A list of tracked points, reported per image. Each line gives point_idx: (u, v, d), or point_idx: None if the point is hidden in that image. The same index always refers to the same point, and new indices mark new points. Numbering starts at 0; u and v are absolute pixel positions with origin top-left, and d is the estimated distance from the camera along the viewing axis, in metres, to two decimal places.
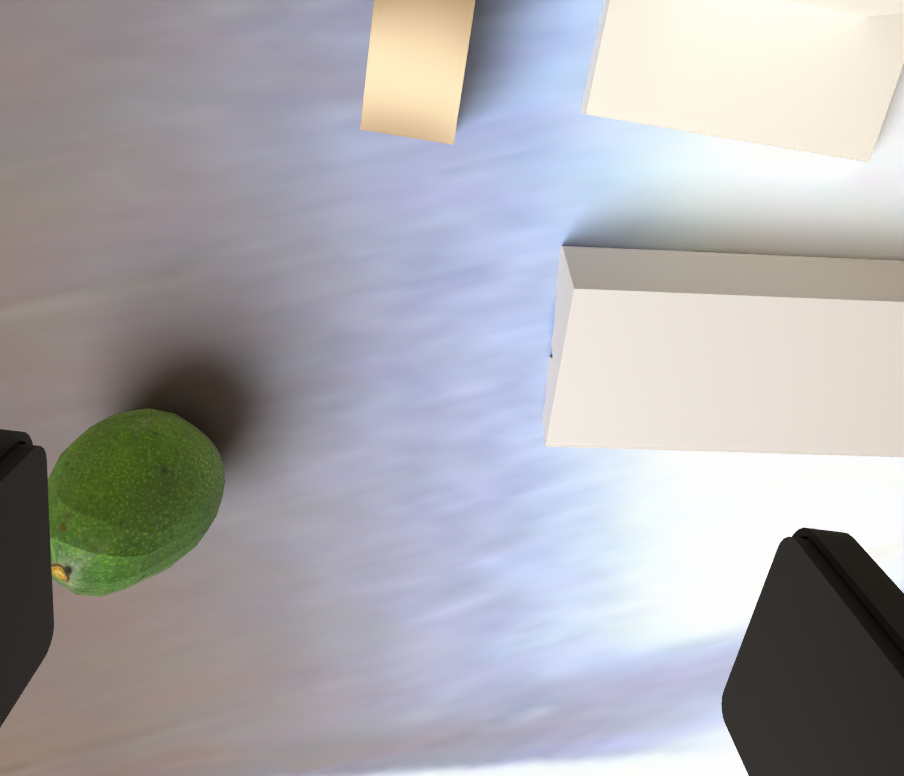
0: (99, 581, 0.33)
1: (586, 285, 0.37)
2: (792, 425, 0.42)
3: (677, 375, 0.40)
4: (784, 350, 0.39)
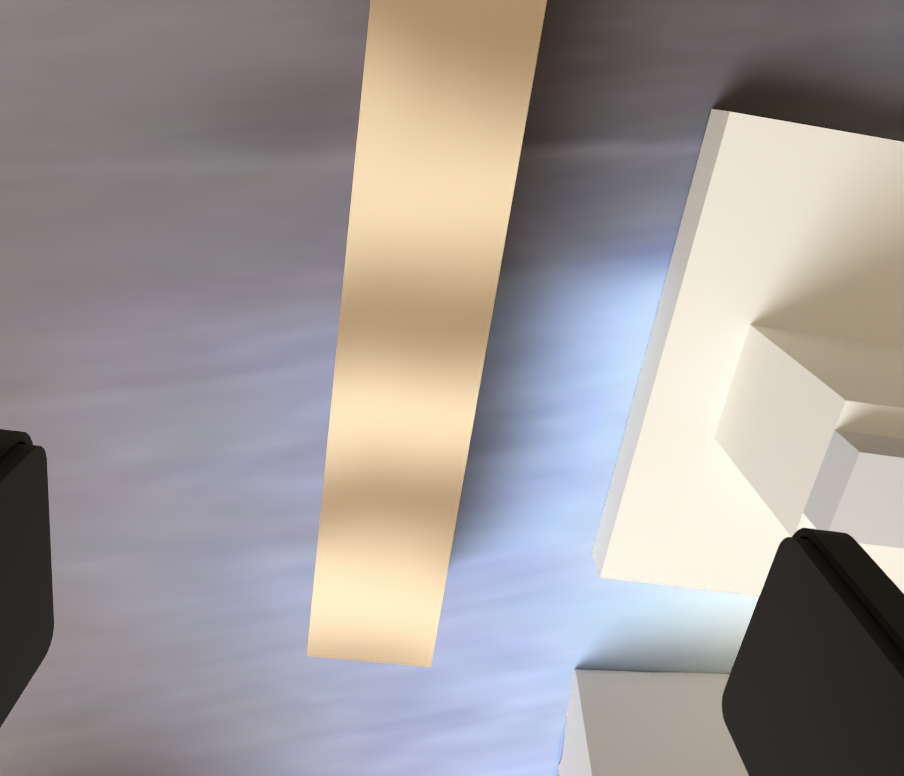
0: None
1: (608, 769, 0.28)
2: None
3: None
4: None
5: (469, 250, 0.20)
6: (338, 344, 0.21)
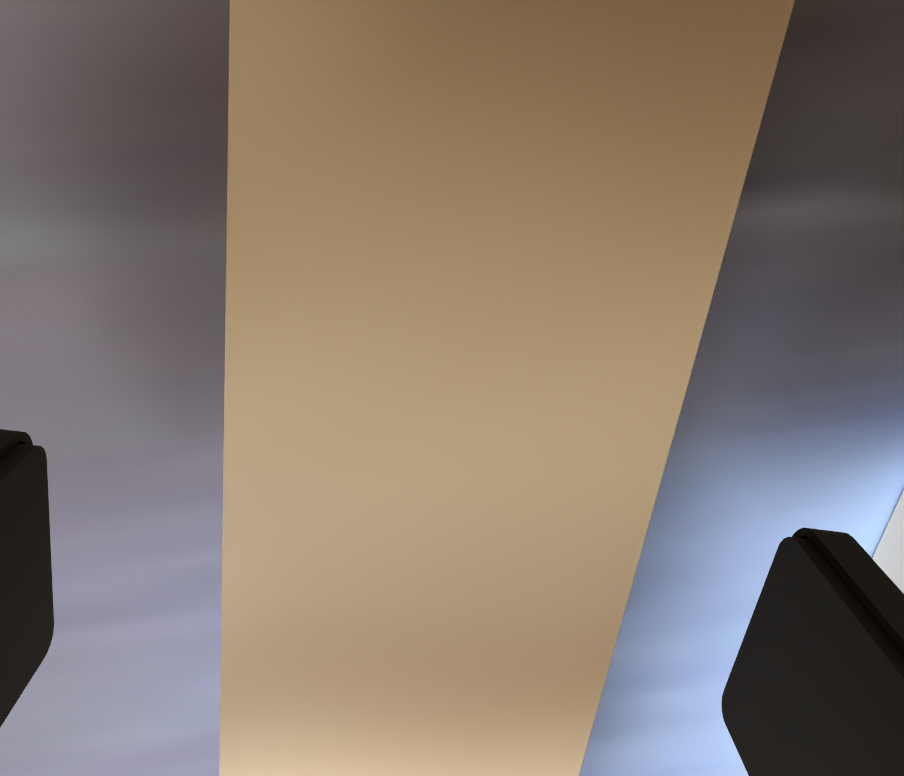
0: None
1: None
2: None
3: None
4: None
5: (556, 523, 0.07)
6: (223, 732, 0.08)
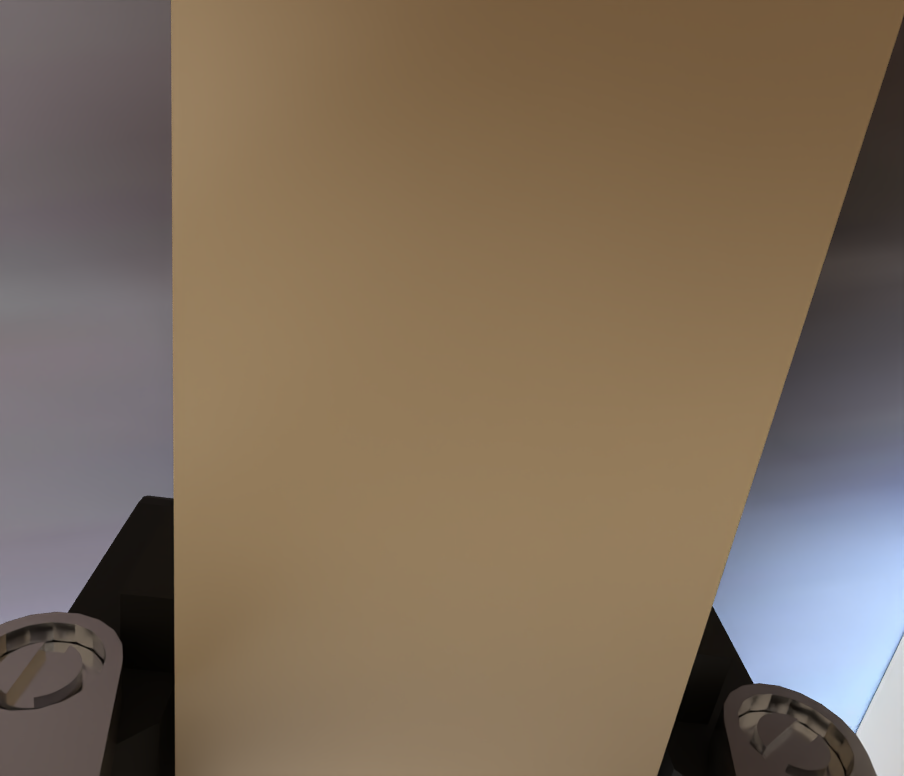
0: None
1: None
2: None
3: None
4: None
5: (573, 693, 0.06)
6: None
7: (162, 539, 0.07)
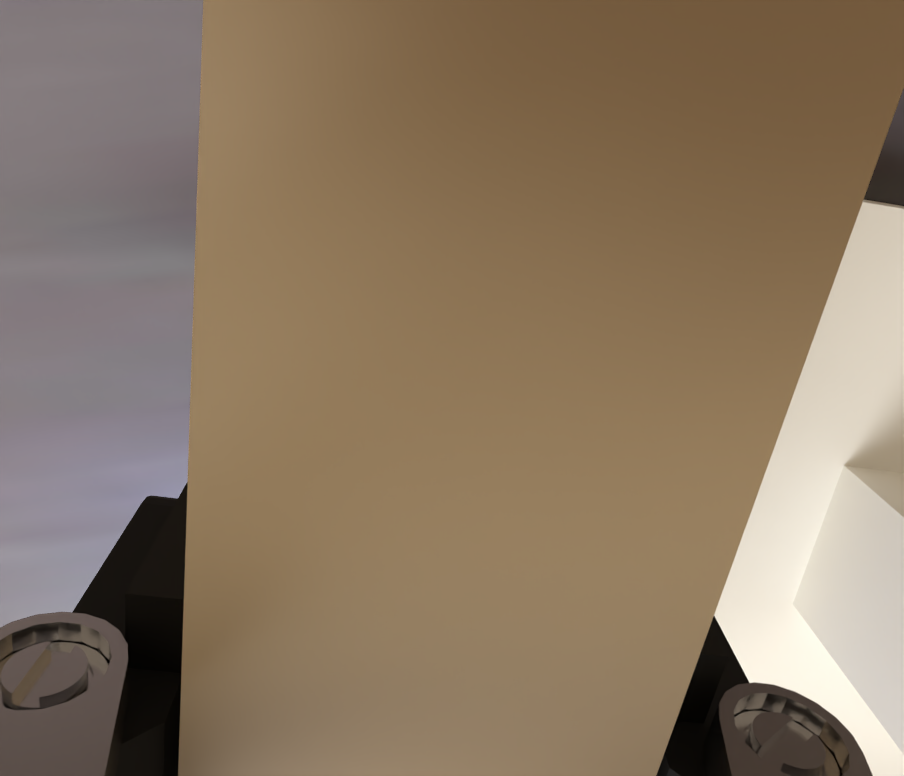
0: None
1: None
2: None
3: None
4: None
5: (577, 689, 0.06)
6: None
7: (166, 539, 0.07)
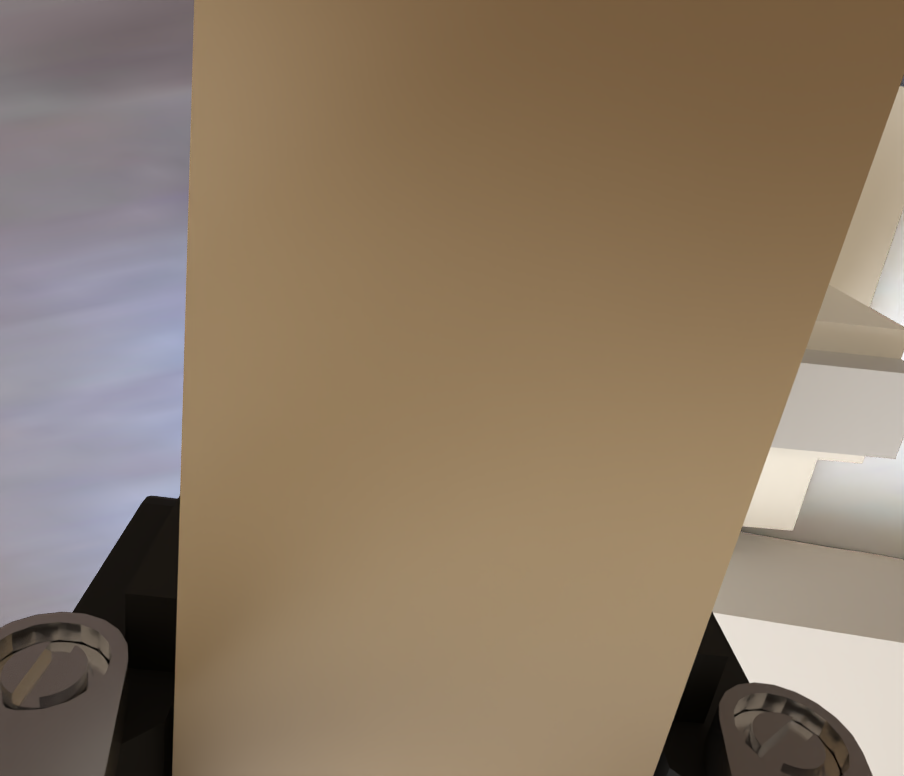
0: None
1: None
2: None
3: None
4: (744, 669, 0.30)
5: (573, 696, 0.06)
6: None
7: (166, 539, 0.07)
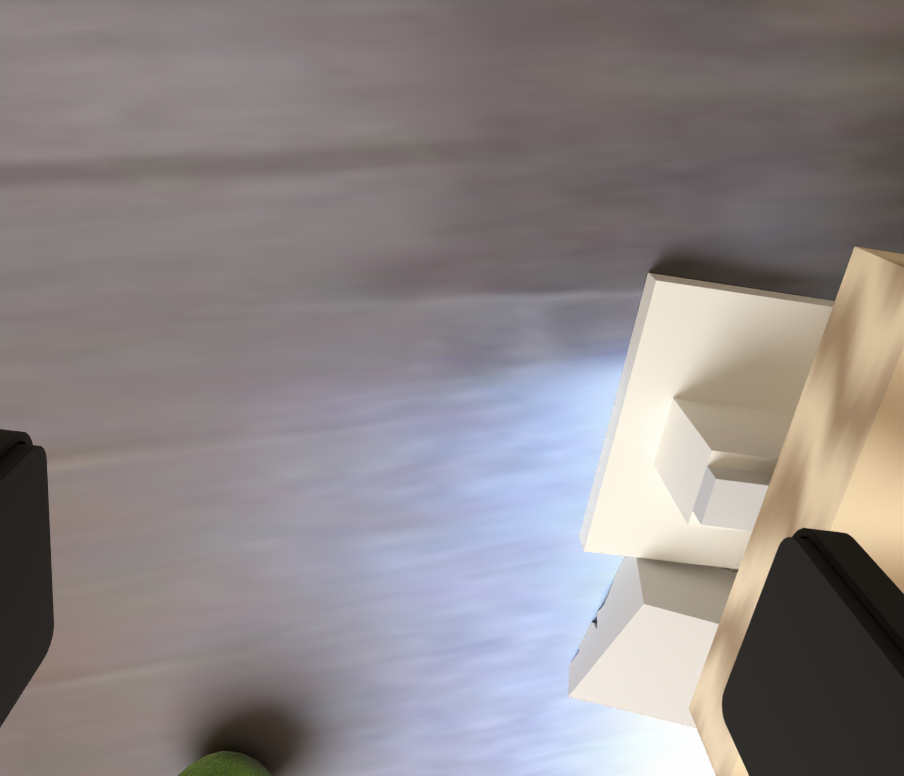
0: None
1: (653, 601, 0.43)
2: None
3: (698, 675, 0.46)
4: None
5: (901, 549, 0.30)
6: None
7: None
